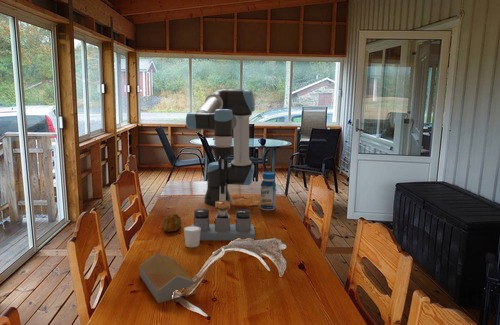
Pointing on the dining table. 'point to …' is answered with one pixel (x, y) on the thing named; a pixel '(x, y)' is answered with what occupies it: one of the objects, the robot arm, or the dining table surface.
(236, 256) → the dining table surface
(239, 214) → the knob
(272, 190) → the beverage bottle
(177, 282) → the house model
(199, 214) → the knob
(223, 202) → the knob mid
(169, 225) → the rock
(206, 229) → the mount
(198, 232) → the white candle
